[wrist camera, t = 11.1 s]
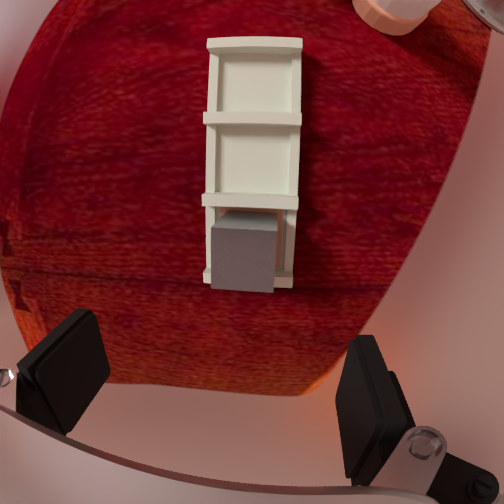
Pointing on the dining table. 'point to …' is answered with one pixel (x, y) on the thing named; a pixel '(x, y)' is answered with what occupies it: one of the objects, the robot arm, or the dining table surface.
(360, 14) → the pepper shaker
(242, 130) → the white compartment tray
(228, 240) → the tall gray pillar
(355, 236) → the dining table surface
